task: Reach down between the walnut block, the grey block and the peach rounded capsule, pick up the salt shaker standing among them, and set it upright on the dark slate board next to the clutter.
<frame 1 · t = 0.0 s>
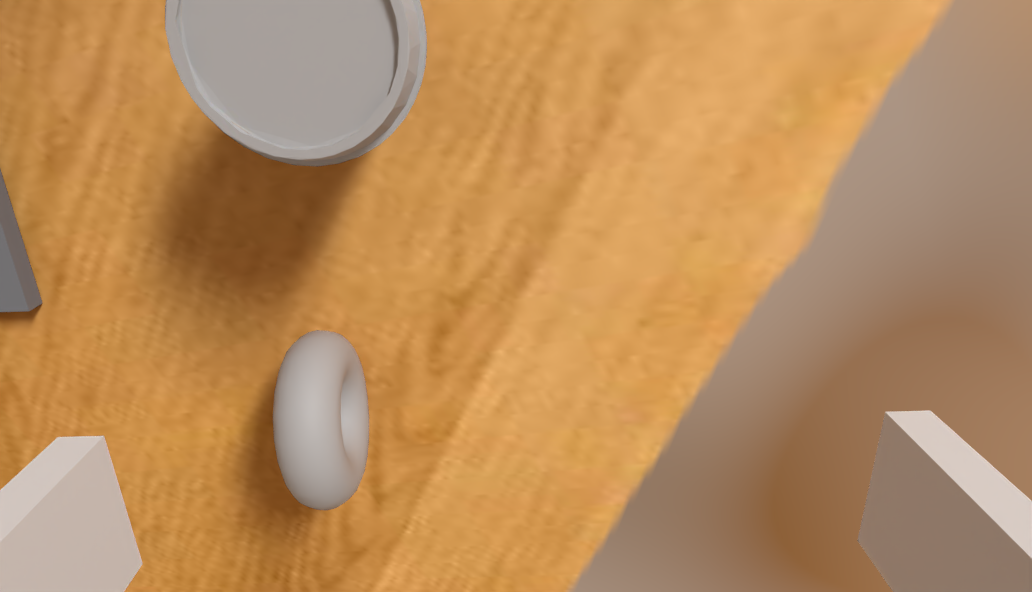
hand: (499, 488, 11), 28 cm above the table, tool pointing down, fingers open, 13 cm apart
disposable coffee cup: (357, 35, 35), on the table
donut: (345, 373, 42), on the table
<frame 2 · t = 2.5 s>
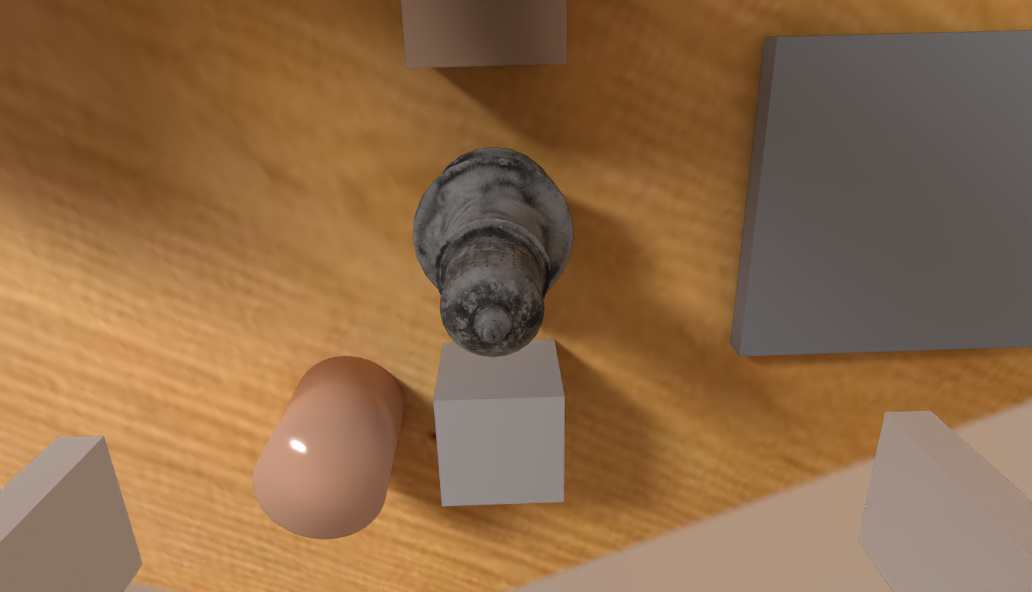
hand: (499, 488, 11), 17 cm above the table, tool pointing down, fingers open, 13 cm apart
grey block: (500, 388, 31), on the table
salt shaker: (494, 210, 28), on the table
peach rounded capsule: (350, 404, 31), on the table
slate board: (900, 199, 28), on the table
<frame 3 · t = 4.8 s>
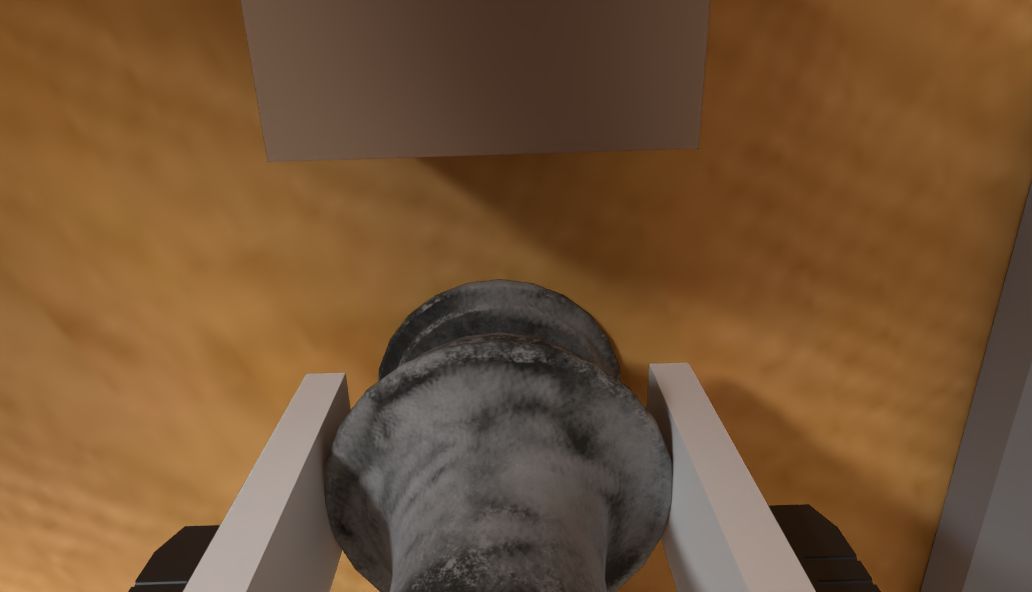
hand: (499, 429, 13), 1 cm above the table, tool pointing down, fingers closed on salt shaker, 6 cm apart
salt shaker: (500, 388, 15), on the table, touching gripper
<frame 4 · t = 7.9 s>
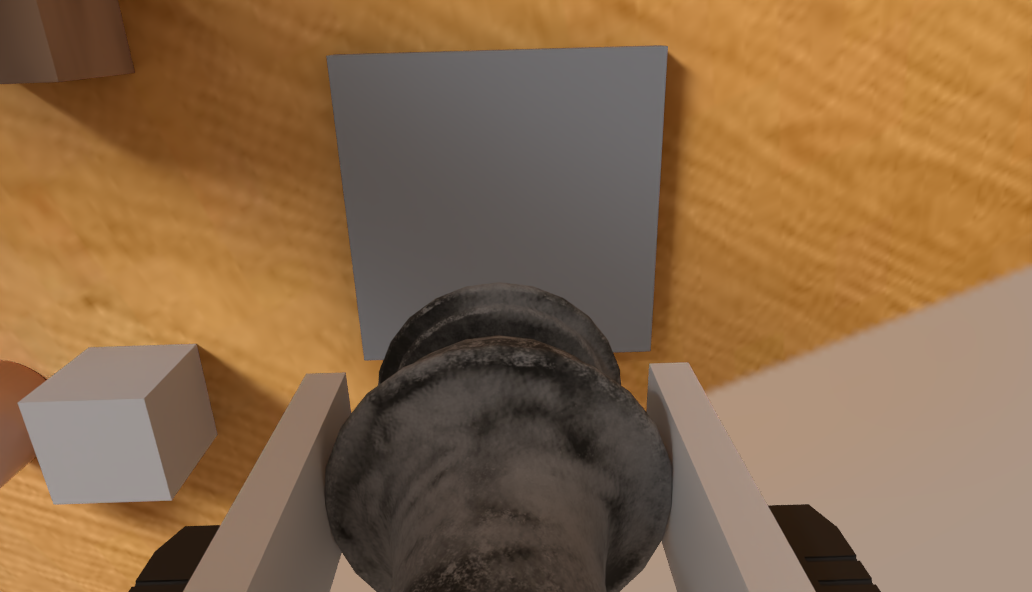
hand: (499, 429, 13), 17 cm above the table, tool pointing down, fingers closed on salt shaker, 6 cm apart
grey block: (155, 391, 32), on the table
salt shaker: (500, 391, 15), point 15 cm above the table, touching gripper
walnut block: (54, 6, 26), on the table
peach rounded capsule: (11, 406, 32), on the table
slate board: (502, 209, 29), on the table
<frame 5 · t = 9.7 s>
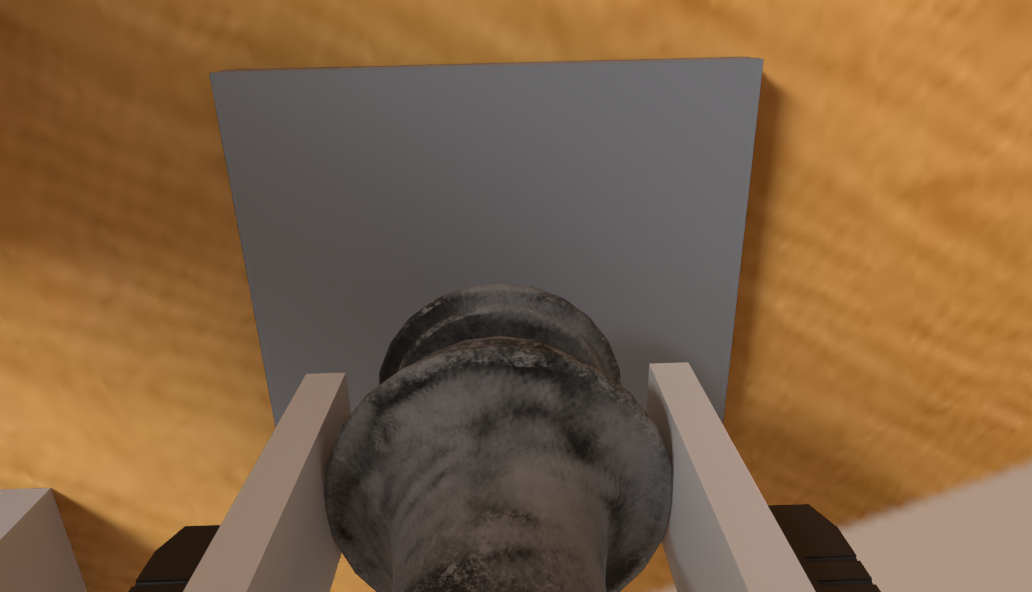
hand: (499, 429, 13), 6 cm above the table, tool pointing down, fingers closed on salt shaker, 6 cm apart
salt shaker: (500, 391, 15), point 5 cm above the table, touching gripper
slate board: (497, 302, 19), on the table
when the fingers open (4 cm above the table, at t = 11.0 s): salt shaker drops 1 cm, resting on slate board.
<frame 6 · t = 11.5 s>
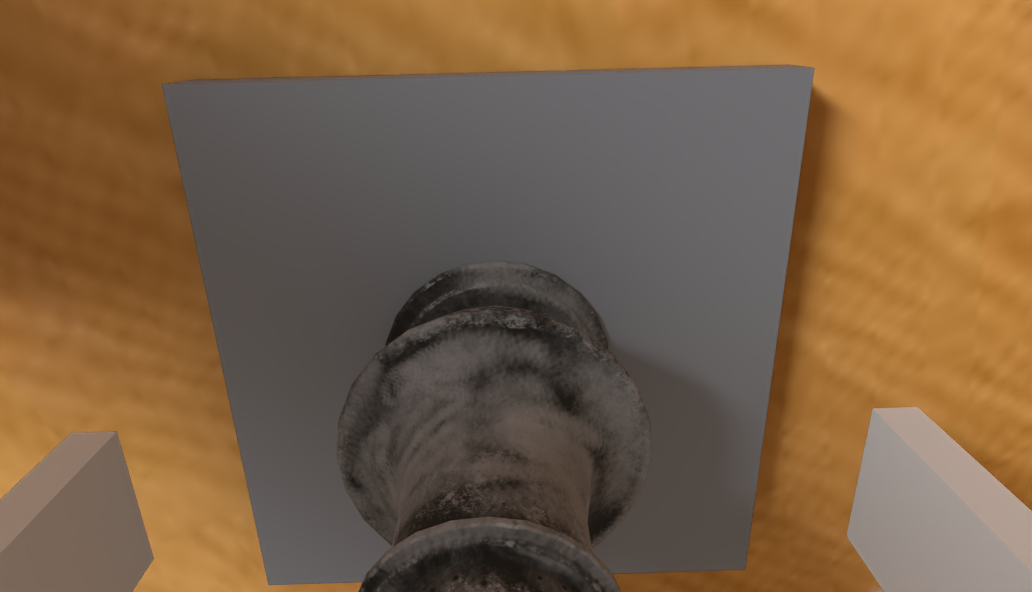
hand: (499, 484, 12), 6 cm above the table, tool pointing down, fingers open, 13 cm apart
salt shaker: (497, 362, 16), point 1 cm above the table, touching slate board
slate board: (500, 343, 17), on the table
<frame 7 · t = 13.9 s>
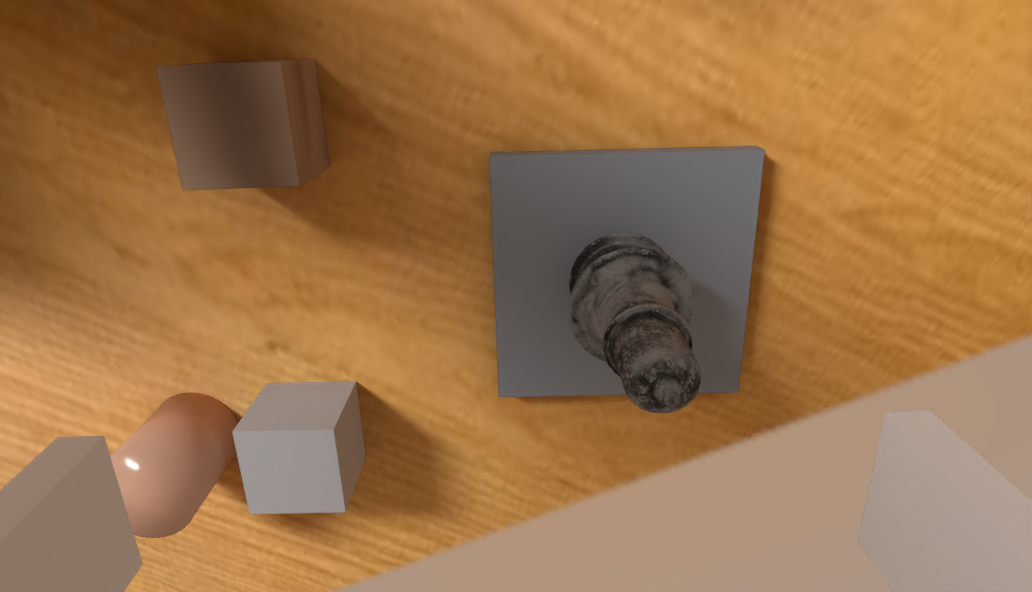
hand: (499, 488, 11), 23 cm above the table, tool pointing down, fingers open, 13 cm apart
grey block: (318, 420, 38), on the table
salt shaker: (620, 281, 34), point 1 cm above the table, touching slate board
walnut block: (271, 115, 32), on the table
peach rounded capsule: (197, 431, 38), on the table
slate board: (618, 274, 35), on the table
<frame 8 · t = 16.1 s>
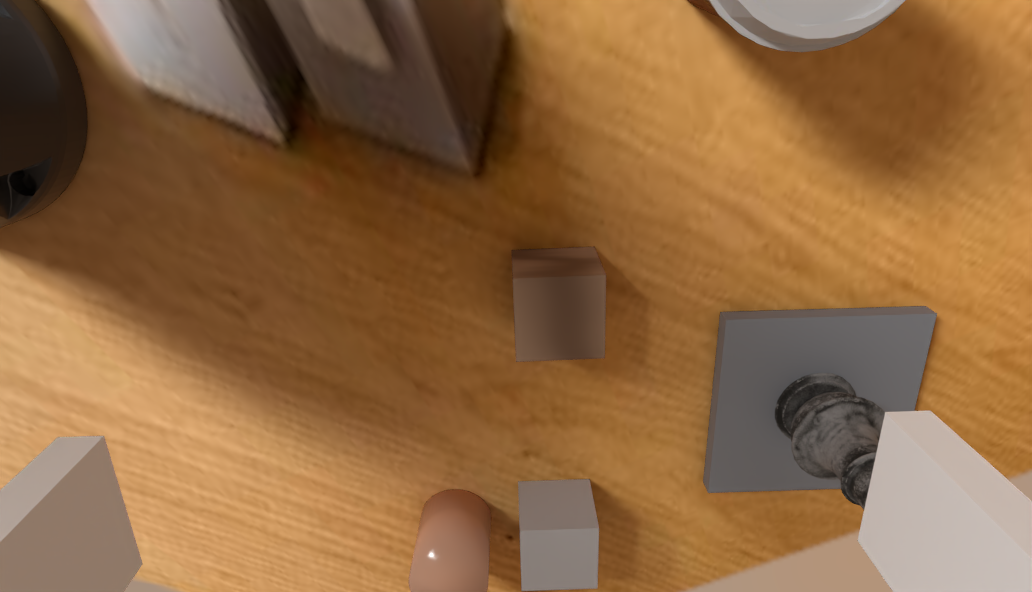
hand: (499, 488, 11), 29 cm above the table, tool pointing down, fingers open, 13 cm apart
grey block: (553, 508, 47), on the table
salt shaker: (813, 406, 43), point 1 cm above the table, touching slate board
walnut block: (553, 286, 41), on the table
peach rounded capsule: (456, 518, 47), on the table
slate board: (808, 398, 44), on the table
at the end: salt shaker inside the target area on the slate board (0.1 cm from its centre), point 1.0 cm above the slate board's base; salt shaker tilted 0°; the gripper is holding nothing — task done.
